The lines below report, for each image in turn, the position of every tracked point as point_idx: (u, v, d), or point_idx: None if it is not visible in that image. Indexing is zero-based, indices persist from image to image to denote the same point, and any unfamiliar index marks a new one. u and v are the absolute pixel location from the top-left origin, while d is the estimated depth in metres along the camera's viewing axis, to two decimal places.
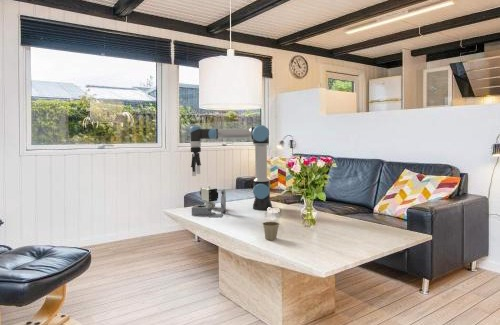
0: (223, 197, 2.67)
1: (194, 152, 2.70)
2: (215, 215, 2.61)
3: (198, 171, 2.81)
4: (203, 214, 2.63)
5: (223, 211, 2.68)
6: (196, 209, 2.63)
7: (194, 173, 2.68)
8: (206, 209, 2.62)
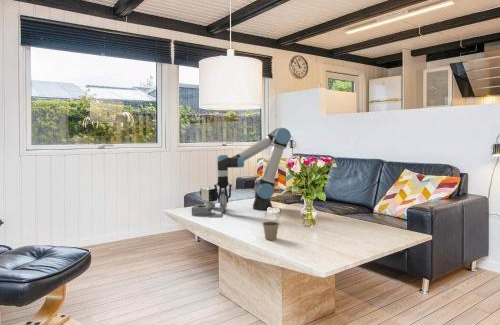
0: (223, 197, 2.67)
1: None
2: (215, 215, 2.61)
3: None
4: (203, 214, 2.63)
5: (223, 211, 2.68)
6: (196, 209, 2.63)
7: None
8: (206, 209, 2.62)
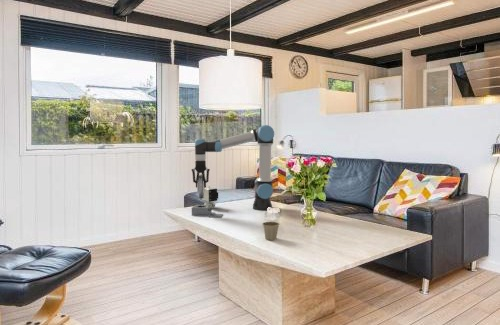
0: (201, 181, 2.66)
1: None
2: (215, 215, 2.61)
3: None
4: (203, 214, 2.63)
5: (201, 196, 2.66)
6: (196, 209, 2.63)
7: None
8: (206, 209, 2.62)
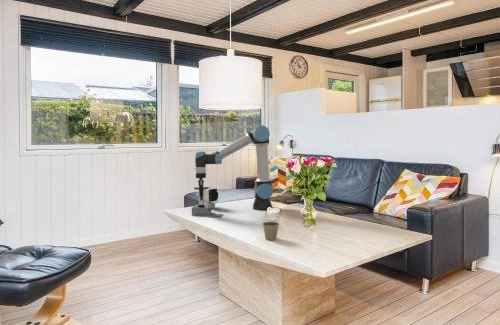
0: None
1: (200, 178, 2.63)
2: (215, 215, 2.61)
3: None
4: (203, 214, 2.63)
5: None
6: (196, 209, 2.63)
7: (201, 202, 2.66)
8: (206, 209, 2.62)
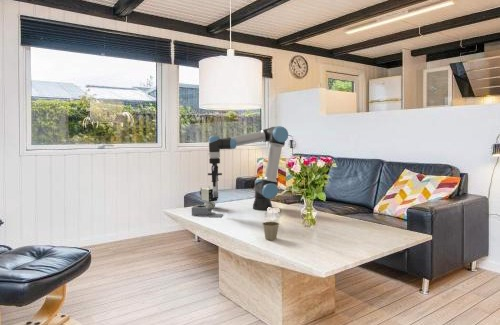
0: None
1: (213, 163, 2.55)
2: (215, 215, 2.61)
3: None
4: (203, 214, 2.63)
5: (217, 194, 2.61)
6: (196, 209, 2.63)
7: (215, 188, 2.58)
8: (206, 209, 2.62)
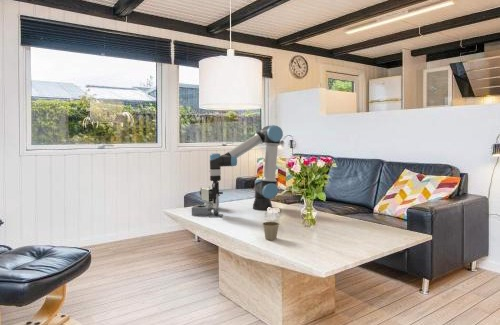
0: None
1: (214, 181, 2.56)
2: None
3: None
4: (203, 214, 2.63)
5: None
6: (196, 209, 2.63)
7: (215, 205, 2.56)
8: (206, 209, 2.62)
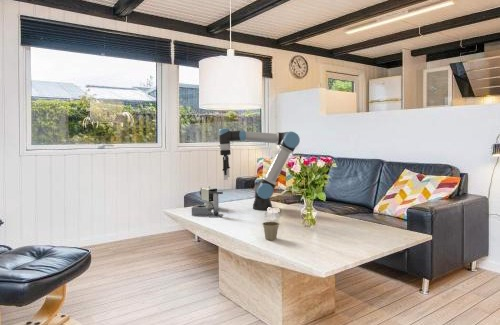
0: None
1: (224, 155, 2.63)
2: None
3: (227, 174, 2.75)
4: (203, 214, 2.63)
5: None
6: (196, 209, 2.63)
7: (226, 176, 2.61)
8: (206, 209, 2.62)
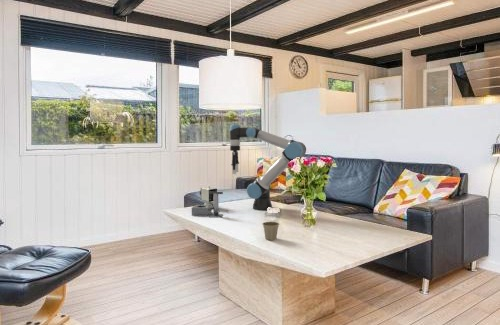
0: None
1: (234, 150, 2.73)
2: None
3: (236, 169, 2.84)
4: (203, 214, 2.63)
5: None
6: (196, 209, 2.63)
7: (234, 171, 2.70)
8: (206, 209, 2.62)
